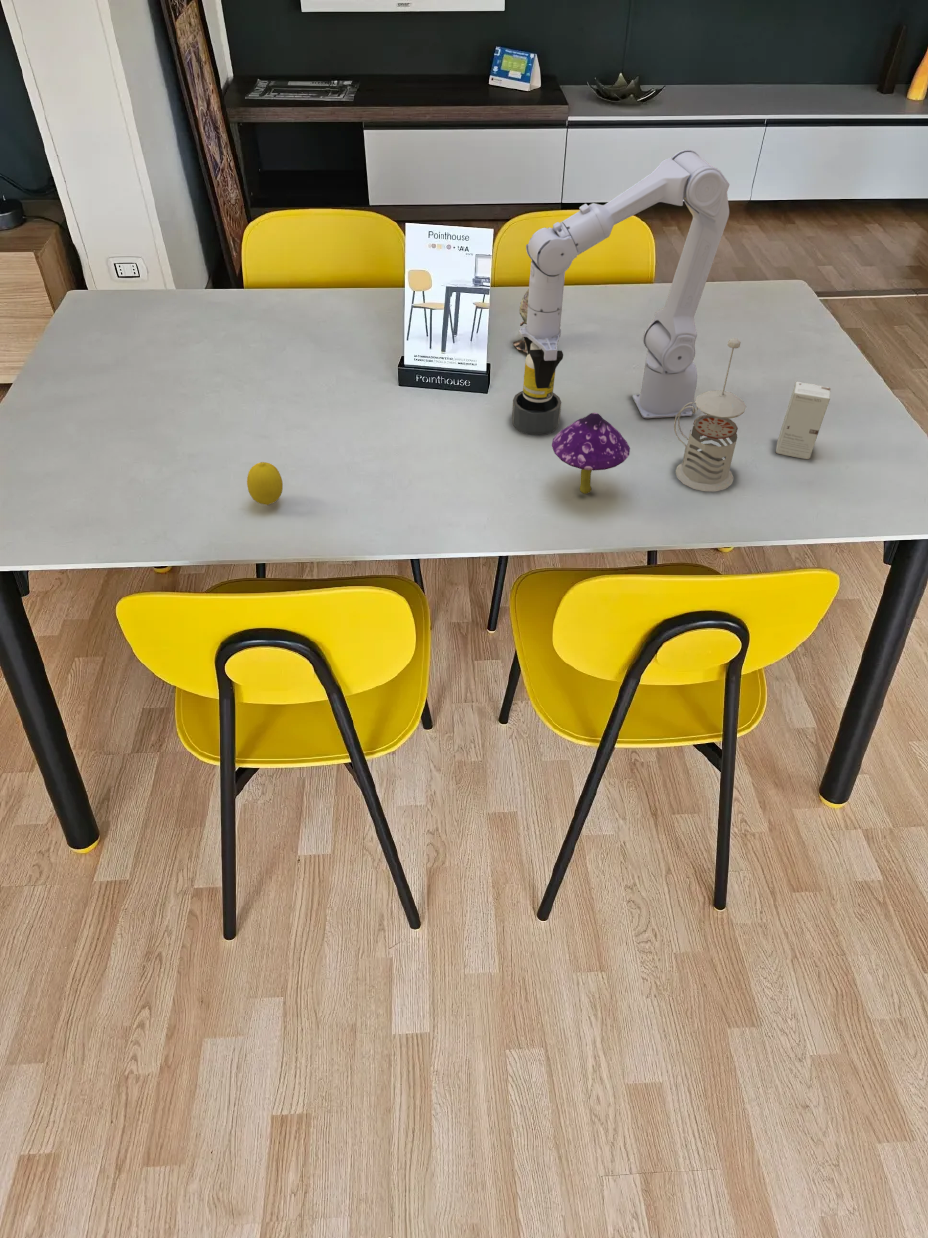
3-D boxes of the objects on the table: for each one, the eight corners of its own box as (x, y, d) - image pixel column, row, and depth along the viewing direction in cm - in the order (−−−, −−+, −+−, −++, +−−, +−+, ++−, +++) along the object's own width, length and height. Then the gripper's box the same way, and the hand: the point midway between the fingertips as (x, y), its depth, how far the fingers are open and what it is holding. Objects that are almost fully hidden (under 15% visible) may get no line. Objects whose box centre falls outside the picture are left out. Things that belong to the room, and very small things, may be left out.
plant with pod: (545, 332, 199) (553, 237, 185) (558, 358, 191) (568, 260, 177) (508, 335, 198) (512, 239, 184) (519, 361, 190) (525, 263, 176)
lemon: (252, 495, 155) (245, 453, 150) (286, 493, 156) (280, 452, 150) (249, 515, 151) (242, 473, 146) (284, 514, 152) (278, 472, 146)
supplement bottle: (550, 405, 167) (555, 354, 160) (520, 401, 168) (523, 350, 161) (554, 390, 171) (559, 339, 164) (525, 386, 172) (528, 336, 165)
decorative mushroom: (634, 508, 154) (648, 428, 144) (563, 520, 152) (572, 440, 141) (605, 466, 163) (616, 388, 153) (536, 477, 160) (543, 398, 150)
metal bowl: (553, 409, 177) (555, 387, 174) (563, 434, 170) (565, 412, 167) (508, 411, 176) (509, 390, 173) (516, 436, 169) (517, 414, 166)
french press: (721, 498, 157) (755, 360, 140) (656, 476, 161) (682, 339, 144) (741, 470, 163) (776, 334, 146) (678, 449, 167) (705, 315, 150)
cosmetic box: (775, 454, 167) (792, 392, 158) (776, 441, 170) (794, 380, 162) (811, 460, 165) (830, 399, 157) (812, 447, 169) (831, 386, 160)
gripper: (514, 287, 162) (510, 359, 172) (529, 325, 152) (524, 400, 161) (554, 285, 163) (548, 358, 173) (572, 324, 153) (564, 398, 162)
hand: (539, 378), depth 167 cm, fingers closed on supplement bottle, 5 cm apart
